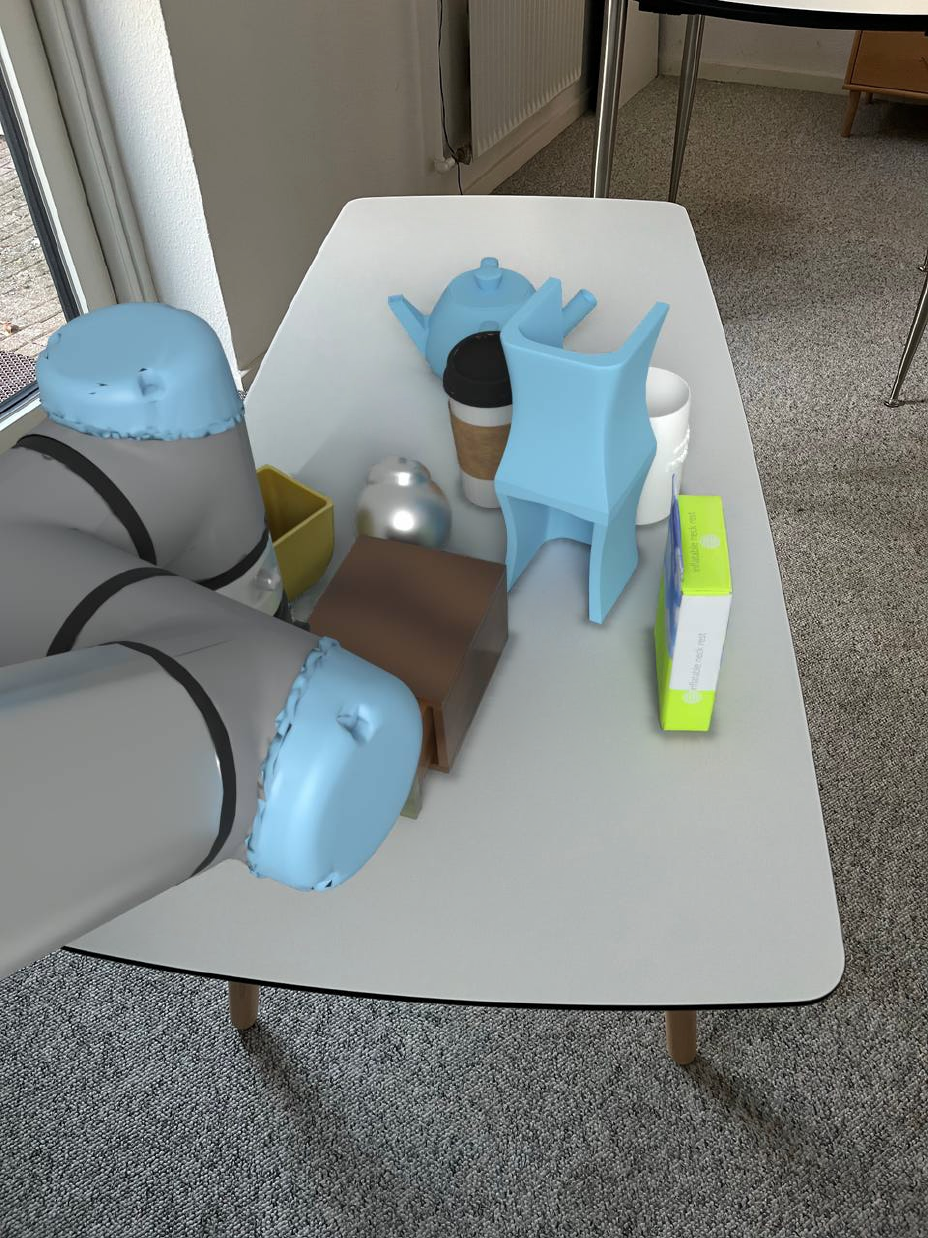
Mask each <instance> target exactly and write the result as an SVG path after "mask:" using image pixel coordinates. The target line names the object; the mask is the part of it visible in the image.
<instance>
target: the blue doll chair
mask: <svg viewBox="0 0 928 1238" xmlns="http://www.w3.org/2000/svg"><path fill="white" fill-rule="evenodd" d="M562 290H563V288H562V281H561V279H560V278H556V277H552V276H549V277H548V278H547V280H545V282H543V284H541V285H540V286H539V288H538V289H537V290H536V292H535V293H534V294H533V296H532V297H531V298H530V299H529V300H528V301H527V302H526V303H525V304H524V305H523V306H522V307H521V308H520V309H519V311H518V312H517V313H516V314H515V315H514V316H513V317H512V318H511V319H510V320H509V321H508V322H507V324H506V325H505V326H504V327H503V329H502V330H501V333H500V339H501V343H502V347H503V351H504V354H505V358H506V362H507V366H508V371H509V375H510V381H511V388H512V397H513V416H512V423H511V430H510V434H509V438H508V442H507V445H506V448H505V451H504V454H503V457H502V460H501V462H500V465H499V468H498V470H497V473H496V475H495V478H494V481H495V492H496V494H497V497H498V500H499V503H500V505H501V507H500V509H501V512H502V515H503V519H504V523H505V527H506V536H507V546H506V556H505V562H504V564H506V565H507V593H508V592H510V591H511V589H512V588H513V586H514V584H515V583H516V582H517V581H518V579H519V578H520V576H521V575H522V574H523V572H524V571H525V569H526V568H527V567H528V565H529V564H530V562H531V561H532V560H533V559H534V557H535V555H536V554H537V553H538V551H539V550H540V549H541V547H542V546H543V545H544V544H545V543H546V542H548V541H551V540H554V539H560V538H562V539H563V538H564V539H570V540H573V541H577V542H580V543H583V544H586V545H589V546H590V558H589V576H588V592H589V593H588V611H589V612H588V620H589V621H591V622H593V623H596V624H599V625H602V624H603V622H604V621H605V619H606V617H607V616H608V614H609V613H610V611H611V610H612V608H613V606H614V605H615V604H616V601H617V600H618V598H619V597H620V595H621V593H622V592H623V590H624V589H625V587H626V586H627V584H628V582H629V580H630V579H631V577H632V576H633V574H634V572H635V570H636V569H637V567H638V565H639V562H640V557H639V550H638V544H637V527H636V526H637V525H636V514H637V507H638V503H639V499H640V495H641V492H642V489H643V486H644V483H645V480H646V478H647V475H648V472H649V470H650V468H651V465H652V463H653V460H654V458H655V456H656V450H657V441H656V438H655V435H654V432H653V429H652V426H651V423H650V419H649V416H648V410H647V404H646V380H647V375H648V369H649V367H650V364H651V361H652V357H653V353H654V350H655V347H656V344H657V341H658V338H659V336H660V333H661V331H662V328H663V325H664V322H665V321H666V318H667V316H668V313H669V310H670V303H665V302H661V301H656V302H655V303H654V305H653V307H652V308H651V309H650V310H649V312H648V313H647V314H646V315H645V317H644V318H643V319H642V321H640V323H639V324H638V325H637V327H636V328H635V329H634V331H633V332H632V333H631V335H630V336H629V337H628V338H627V340H626V341H625V342H624V343H623V344H622V345H621V347H620V348H619V349H618V350H615V351H611V352H604V353H581V352H576V351H573V350H572V351H571V350H568V349H564V338H563V315H562V309H563V292H562Z"/></svg>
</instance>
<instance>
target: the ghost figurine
mask: <svg viewBox="0 0 928 1238" xmlns="http://www.w3.org/2000/svg"><path fill="white" fill-rule="evenodd" d="M364 477H365V479H364V480H365V485H364V487H363V488H362V489H361V490H360V492H359V493H358V495H357V497H356V499H355V502H354V505H353V509H352V515H351V525H352V531H353V535H354V537H355V540H356V539H357V538H358V536H359V534H363V535H368V536H373V537H378V538H382V539H387V540H392V541H397V542H401V543H406V544H411V545H416V546H421V547H425V548H430V549H435V550H440V551H444V548H445V547H446V545H447V544H448V541H449V539H450V536H451V532H452V527H453V514H452V513H453V512H452V508H451V505H450V501H449V500H448V497H447V496H446V494H445V492H444V491H443V489H442V488H441V487H440V486H439V484H438V483H437V482H435V481H434V480H433V479H432V477H431V473H430V471H429V469H428V468H427V467H426V465H425V464H423V463H422V462H420V461H418V460H415V459H411V458H408V457H405V456H404V455H399V454H391V455H388V456H386V458H384V459H383V460H382V461H380V462H377V463H375V464H373V465H371V466H370V467H369V468H368V470H367V471H366V474H365V476H364Z"/></svg>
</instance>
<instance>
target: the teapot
mask: <svg viewBox="0 0 928 1238" xmlns="http://www.w3.org/2000/svg"><path fill="white" fill-rule="evenodd" d="M499 264H500V263H499V260H498V258H496V257H494V256H493V257H492V256H487V257H483V258H482V259H481V261H480V265H479V267H478V268H477V267H476V268H473V269H469V270H466V271H464V272H462V273H460V274H458V275H457V276H455V277H454V278H453V279H452V280H451V281H450V282H449V284H448V285H447V286H446V287H445V288H444V290H443V292H442V293H441V295H440V297H439V298H438V300H437V302H436V303H435V306H434V307H433V309H432V312H431V314H430V315H425V314H423V313H422V312H421V311H420V310H419V309H418V308H417V307H416V306H415V305H414V304H412V302H410V301H409V300H408V299H407V298H406V297H405V296H404V293H401V294H396V295H394V294H393V295H389V296H387V305H388V307H389V308H390V310H391V311H392V313H393V314H394V315H395V317H396V318H397V320H398V322H399V323H400V324H401V325H402V328H403V329H404V331H405V332H406V333H407V336H408V337H409V338H410V340H411V341H412V342H413V344H414V345H415V347H416V348H417V350H418V351H419V353H420V354H421V355H422V356H424V358H425V361H426V362H427V365H428V366H429V368H430V369H431V371H432V372H433V373H434V374H435V375H436V376H437V377H438V378H440V379H441V380H442V381H443V373H444V370H445V368H446V362H447V358H448V355H449V353H450V351H451V350H452V349H453V347H454V346H455V345H456V344H457V343H459V342H460V341H461V340H463V339H464V338H466V337H468V336H470V335H472V334H475V333H478V332H484V331H501V330H502V329H503V327H504V326H505V325H506V324H507V322H508V321H509V320H510V319H511V318H512V317H513V316H514V315H515V314H516V313H517V312H518V311H519V309H520V308H521V307H522V306H523V305H524V304H525V303H526V302H527V301H528V300H529V299H530V298H531V297H532V296H533V294H534V293H535V292H536V291H537V290H536V288H535V287H534V285H533V284H532V283H531V282H530V281H529V280H528V279H527V277H526V276H524V275H523V274H521V273H519V272H518V271H516V270H513V269H509V268H505V267H500V266H499ZM597 306H598V300H597V299H596V297H595V296H594V294H592V293H591V292H590V290H588V289H586V288H581V289H580V290H579V291H578V292H577V293H576V294H575V295H574V296H573V297H572V298H571V299H570V300H569V301H568V302H567V304H566V305H565V306H564V307H562V315H563V339H564V338H565V337H566V336H568V335H569V334H570V332H572V331H573V330H574V328H576V327H577V326H578V325H579V323H581V322H582V321H583V320H584V319H585V318H586V317H587V315H589V314H590V313H591V312H592V311H593V310H594V309H595V308H596V307H597Z"/></svg>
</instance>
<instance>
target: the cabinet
mask: <svg viewBox="0 0 928 1238" xmlns="http://www.w3.org/2000/svg"><path fill="white" fill-rule="evenodd" d="M508 601H509V600H508V591H507V565H506V564H505V563H501V562H497V561H492V560H487V559H482V558H477V557H472V556H468V555H465V554H459V553H454V552H449V551H444V550H442V551H440V550H435V549H430V548H425V547H421V546H416V545H411V544H406V543H401V542H397V541H392V540H387V539H382V538H378V537H373V536H368V535H363V534H359V536H358V538H357V539H356V538H355V541H354V542H353V544H352V545H351V547H350V549H349V551H348V553H347V554H346V556H345V557H344V559H343V560H342V562H341V563H340V565H339V567H338V569H337V570H336V572H335V573H334V575H333V577H332V578H331V580H330V581H329V583H328V585H327V587H326V588H325V590H324V591H323V593H322V594H321V596H320V598H319V599H318V601H317V603H316V605H315V606H314V608H313V609H312V610H311V613H310V614H309V616H308V617H307V619H306V620H305V622H308V623H309V625H310V633H312V634H315V635H317V636H319V637H324V636H326V637H329V638H332V639H334V640H337V641H338V642H339V644H340V647H341V648H343V649H345V650H347V651H349V652H351V653H353V654H355V655H356V656H358V657H360V658H362V659H364V660H366V661H368V662H369V663H371V664H373V665H375V666H377V667H379V668H381V669H383V670H384V671H386V672H388V673H390V674H392V675H394V676H396V677H397V678H398V679H400V680H401V681H403V682H404V683H405V684H406V685H407V686H408V688H409V689H410V690H411V692H412V693H413V695H414V696H415V698H416V700H417V702H418V703H419V704H423V705H426V706H430V707H433V716H434V725H435V734H436V743H437V750H436V753H435V755H434V757H433V759H432V761H431V764H430V766H429V768H428V770H432V771H436V772H439V773H443V774H447V775H449V774H450V773H451V771H452V768H453V766H454V764H455V762H456V759H457V757H458V754H459V753H460V751H461V748H462V745H463V743H464V741H465V739H466V736H467V734H468V731H469V730H470V727H471V724H472V723H473V721H474V718H475V715H476V713H477V711H478V709H479V707H480V704H481V702H482V699H483V698H484V695H485V692H486V690H487V688H488V686H489V684H490V681H491V679H492V677H493V674H494V672H495V669H496V668H497V665H498V662H499V661H500V658H501V656H502V654H503V652H504V649H505V647H506V645H507V642H508V640H509V606H508V605H509V603H508Z"/></svg>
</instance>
